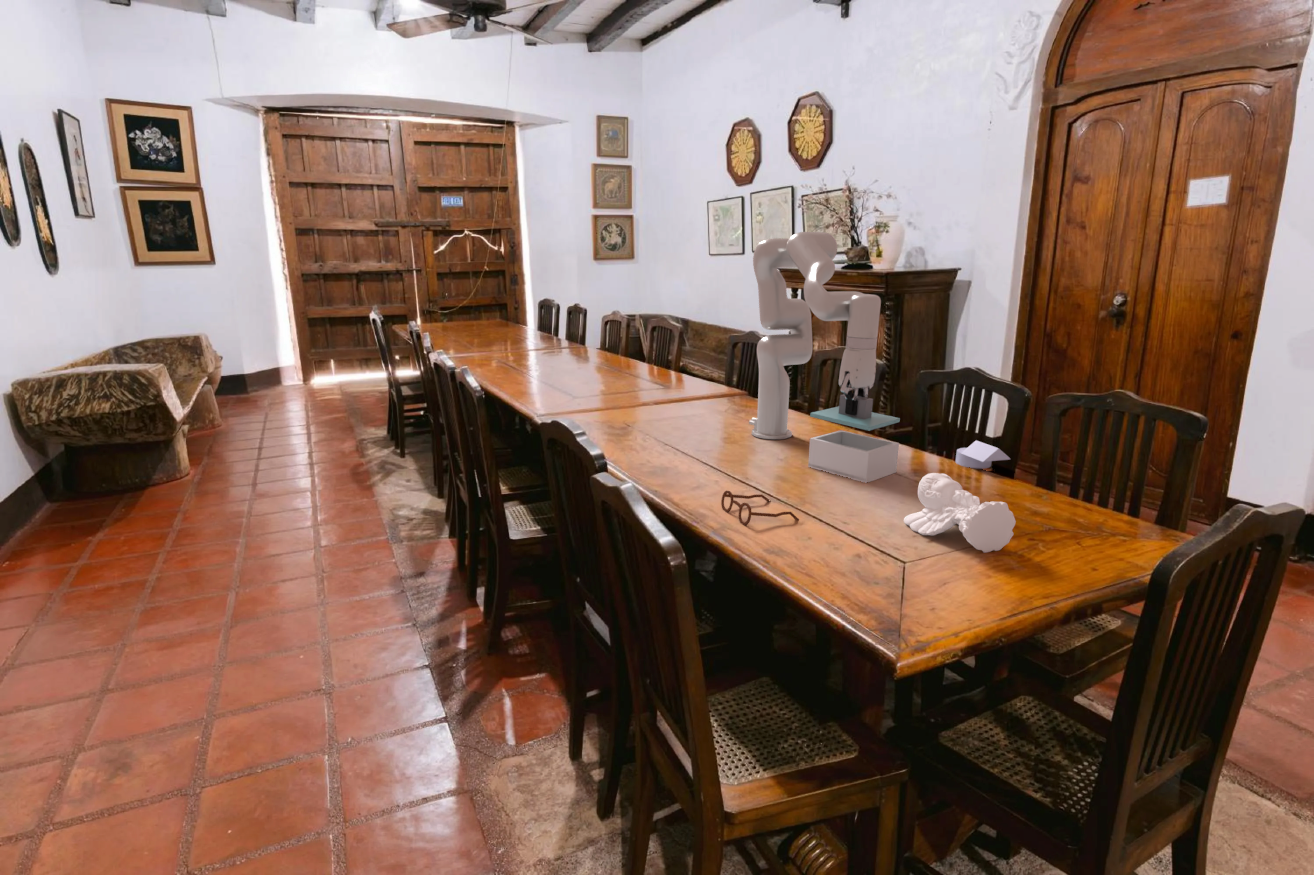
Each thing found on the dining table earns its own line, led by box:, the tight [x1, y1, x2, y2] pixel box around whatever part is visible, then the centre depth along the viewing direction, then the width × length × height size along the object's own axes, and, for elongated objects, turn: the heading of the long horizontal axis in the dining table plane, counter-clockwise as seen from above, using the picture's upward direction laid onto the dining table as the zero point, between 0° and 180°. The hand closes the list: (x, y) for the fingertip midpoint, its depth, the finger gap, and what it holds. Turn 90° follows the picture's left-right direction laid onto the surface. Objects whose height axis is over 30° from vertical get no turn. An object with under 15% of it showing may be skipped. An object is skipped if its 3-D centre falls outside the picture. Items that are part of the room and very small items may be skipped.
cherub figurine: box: [903, 472, 1017, 554], centre depth 144 cm, size 13×12×20 cm
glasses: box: [720, 490, 799, 526], centre depth 157 cm, size 13×13×5 cm
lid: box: [809, 393, 901, 432], centre depth 185 cm, size 18×14×6 cm
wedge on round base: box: [955, 439, 1011, 469], centre depth 193 cm, size 9×7×13 cm
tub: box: [807, 430, 900, 484], centre depth 188 cm, size 18×14×8 cm
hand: (854, 412), depth 186 cm, fingers closed on lid, 3 cm apart
